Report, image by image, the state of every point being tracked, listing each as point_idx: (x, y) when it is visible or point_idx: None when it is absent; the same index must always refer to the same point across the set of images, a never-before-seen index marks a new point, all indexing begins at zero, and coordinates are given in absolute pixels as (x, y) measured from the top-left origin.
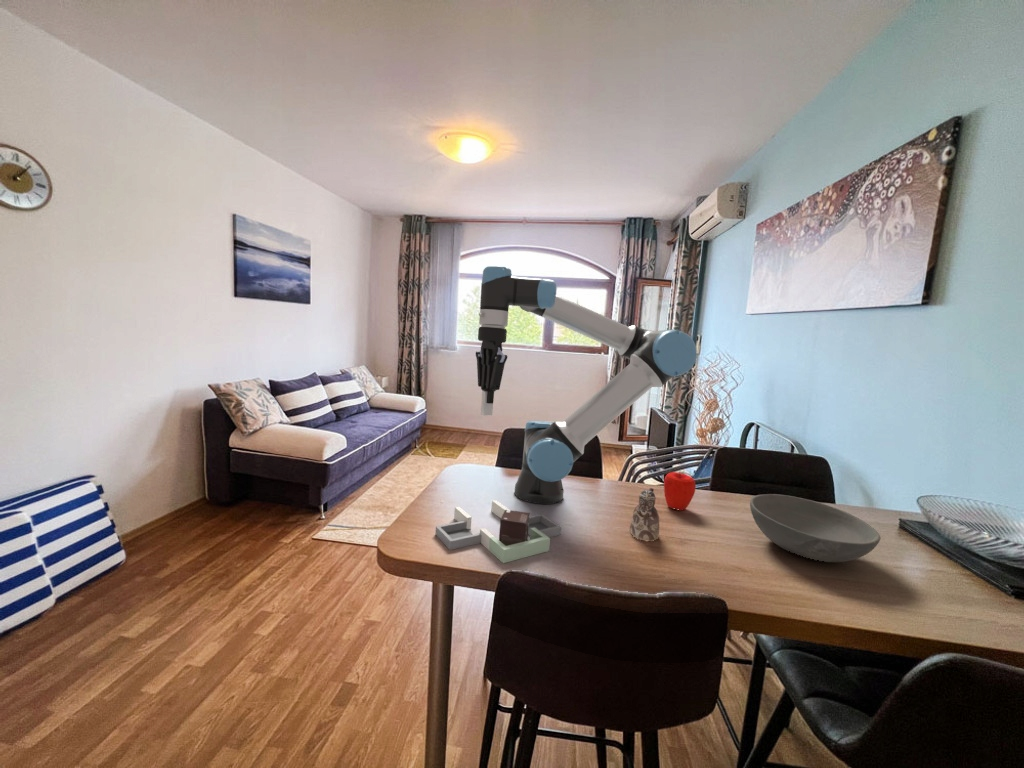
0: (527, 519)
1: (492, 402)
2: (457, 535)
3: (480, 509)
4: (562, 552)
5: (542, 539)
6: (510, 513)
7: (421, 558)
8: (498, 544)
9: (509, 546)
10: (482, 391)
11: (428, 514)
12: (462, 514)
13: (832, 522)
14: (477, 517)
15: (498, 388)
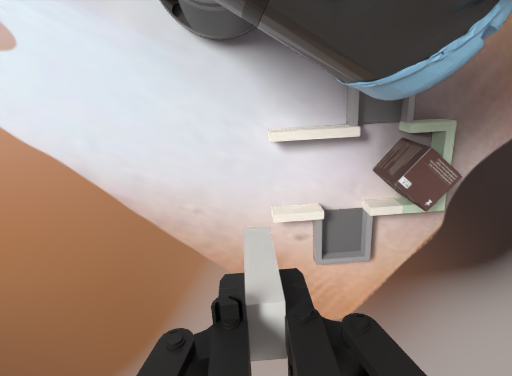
0: (451, 166)
1: (300, 275)
2: (335, 232)
3: (252, 154)
4: (458, 99)
5: (452, 136)
6: (415, 184)
7: (366, 290)
8: (426, 211)
9: (440, 198)
10: (250, 356)
11: (241, 247)
12: (305, 219)
13: None
14: (283, 174)
15: (373, 328)
